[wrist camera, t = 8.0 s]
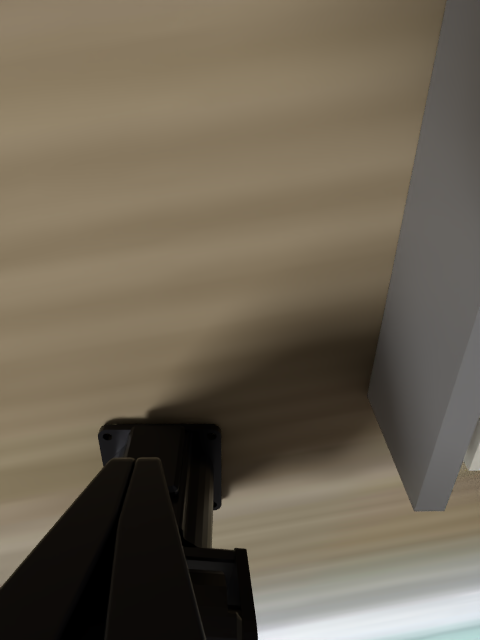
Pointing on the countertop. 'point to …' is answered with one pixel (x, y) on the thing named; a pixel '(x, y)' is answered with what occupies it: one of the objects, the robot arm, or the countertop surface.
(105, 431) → the robot arm
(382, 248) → the countertop surface
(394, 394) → the keypad housing
